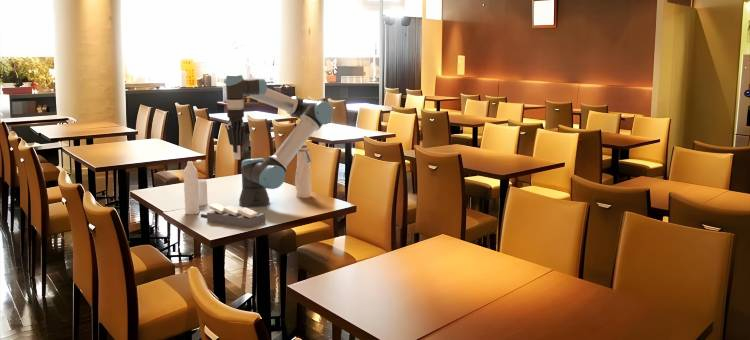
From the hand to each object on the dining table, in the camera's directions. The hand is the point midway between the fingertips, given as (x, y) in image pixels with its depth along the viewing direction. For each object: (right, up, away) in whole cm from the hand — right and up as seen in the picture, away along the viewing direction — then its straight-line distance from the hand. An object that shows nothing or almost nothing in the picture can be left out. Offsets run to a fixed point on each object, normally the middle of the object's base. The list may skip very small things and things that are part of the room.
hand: (237, 159), depth 286 cm
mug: (-25, -23, +22) cm, 40 cm away
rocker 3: (+8, -24, -15) cm, 30 cm away
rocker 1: (-6, -23, -8) cm, 25 cm away
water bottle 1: (-22, -26, +7) cm, 34 cm away
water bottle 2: (+27, -20, +41) cm, 53 cm away
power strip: (-2, -28, -7) cm, 29 cm away
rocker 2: (+1, -24, -12) cm, 26 cm away
